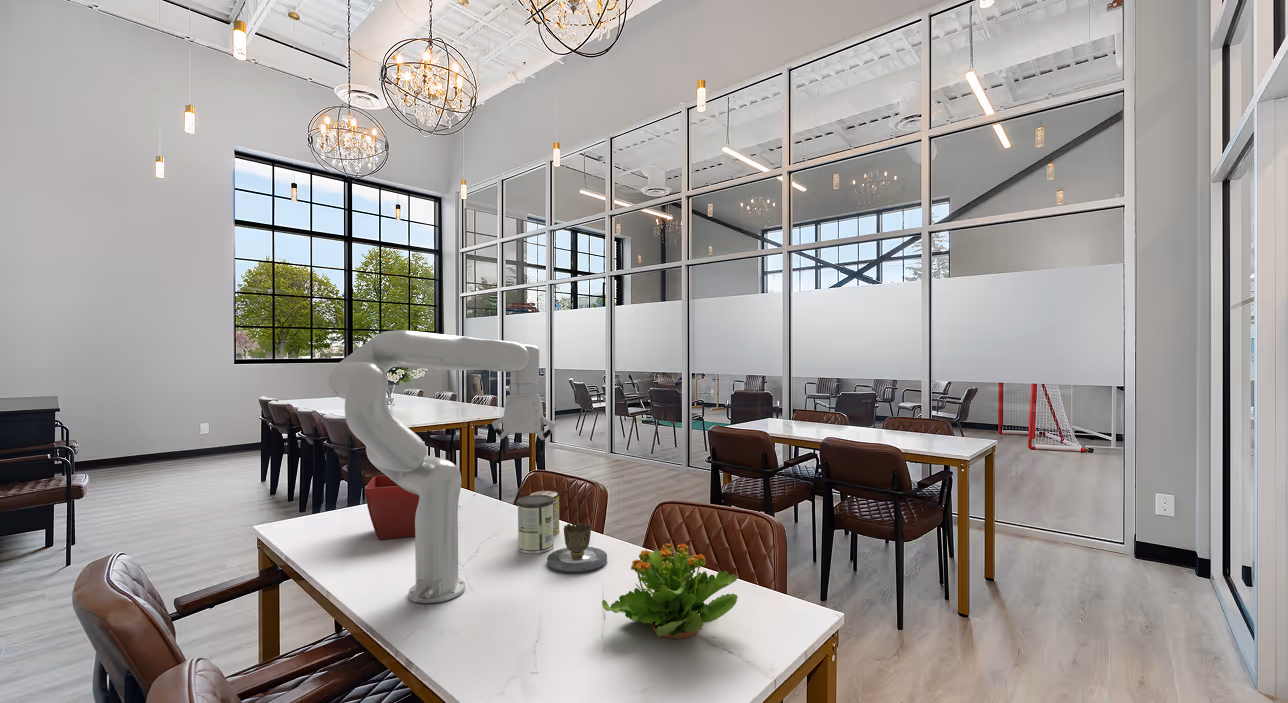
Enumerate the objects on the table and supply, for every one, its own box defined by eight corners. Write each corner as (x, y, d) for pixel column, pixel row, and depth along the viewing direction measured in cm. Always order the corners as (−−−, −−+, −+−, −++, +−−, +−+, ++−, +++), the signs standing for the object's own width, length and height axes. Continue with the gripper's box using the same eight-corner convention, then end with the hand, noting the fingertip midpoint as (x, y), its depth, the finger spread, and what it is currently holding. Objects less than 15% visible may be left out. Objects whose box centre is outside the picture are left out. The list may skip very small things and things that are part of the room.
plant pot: (374, 526, 185) (373, 475, 185) (436, 520, 191) (435, 470, 191) (364, 545, 167) (363, 488, 167) (432, 538, 172) (432, 483, 172)
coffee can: (524, 541, 169) (523, 494, 169) (557, 542, 168) (557, 494, 168) (512, 553, 159) (512, 503, 159) (548, 554, 158) (548, 504, 158)
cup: (589, 561, 148) (589, 530, 148) (561, 561, 148) (561, 530, 148) (592, 551, 155) (592, 522, 155) (566, 551, 155) (565, 522, 155)
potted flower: (669, 591, 133) (668, 517, 133) (760, 621, 118) (759, 538, 118) (595, 633, 113) (594, 546, 113) (692, 675, 98) (691, 575, 98)
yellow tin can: (525, 535, 174) (524, 497, 174) (538, 527, 183) (538, 490, 183) (551, 538, 171) (551, 499, 171) (564, 529, 180) (563, 492, 180)
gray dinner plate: (603, 574, 143) (603, 567, 143) (541, 573, 144) (541, 566, 144) (610, 551, 159) (610, 545, 159) (554, 551, 160) (554, 545, 160)
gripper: (488, 390, 150) (486, 455, 149) (552, 391, 148) (551, 456, 148) (498, 389, 157) (496, 450, 156) (559, 390, 155) (557, 452, 155)
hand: (523, 453), depth 152 cm, fingers open, 9 cm apart
